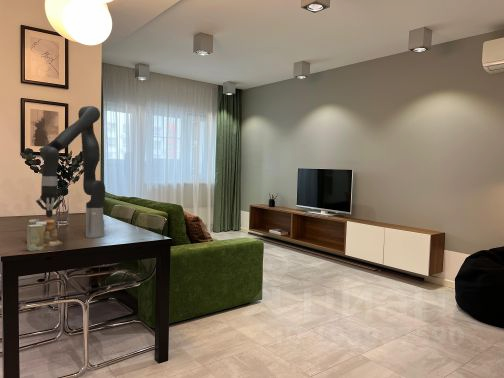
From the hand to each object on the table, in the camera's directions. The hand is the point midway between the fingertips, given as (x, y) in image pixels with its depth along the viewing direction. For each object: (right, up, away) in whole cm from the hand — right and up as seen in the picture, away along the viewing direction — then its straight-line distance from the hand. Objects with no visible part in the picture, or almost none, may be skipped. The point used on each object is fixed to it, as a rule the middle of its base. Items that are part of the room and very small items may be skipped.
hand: (49, 217), depth 198 cm
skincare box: (+1, -15, -15) cm, 21 cm away
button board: (-2, -14, -1) cm, 14 cm away
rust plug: (0, -9, +1) cm, 9 cm away
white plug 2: (-1, -9, -6) cm, 11 cm away
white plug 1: (-8, -9, 0) cm, 12 cm away
